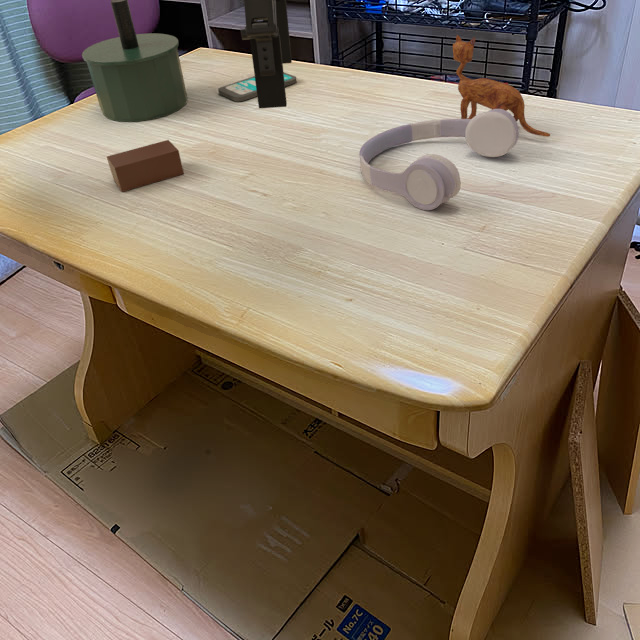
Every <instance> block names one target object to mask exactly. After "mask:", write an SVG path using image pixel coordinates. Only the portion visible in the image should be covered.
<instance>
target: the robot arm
mask: <svg viewBox="0 0 640 640" xmlns="http://www.w3.org/2000/svg"><path fill="white" fill-rule="evenodd" d="M243 4H244V5H243V6H244V18H245V26H244V28H241V29H240V37H241V38H240V39H241V40H242V41H244V40H245V41H247V40H249V44H250V51H251V59H252V66H253V73H254V76H255V82H256V90H257V96H256V97H257V104H258V109H259V110H260V109H274V108H286V107H287V105H288V103H287V94H286V93H287V92H286V86H285V82H284V73H285V71H284V64H292V63H293V62H292V59H293V58H292V50H291V38H290V30H289V19H288V7H287V0H243Z"/></svg>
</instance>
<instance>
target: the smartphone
mask: <svg viewBox="0 0 640 640" xmlns="http://www.w3.org/2000/svg"><path fill="white" fill-rule="evenodd" d="M284 82H285V87H288V86H291V85H293V84H294V85H295V83H297V82H298V80H297V76H295V75H292V74H290V73H287V72H284ZM217 92H218V95H220V96H222V97H224V98H227V99H229V100H232V101H234V102H244V101H247V100H250V99H253V98H256V97H257V90H256V82H255V75H254V76H251V77H248V78H245V79H242V80H239V81H236V82H235V81H234V82H231V83H229V84H226V85H223V86H221V87H218V88H217Z"/></svg>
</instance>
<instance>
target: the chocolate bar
mask: <svg viewBox="0 0 640 640" xmlns="http://www.w3.org/2000/svg"><path fill="white" fill-rule="evenodd" d="M106 160H107V163H108V166H109V169H110V172H111V176H112V179H113V181H114V183H115V184H116V186H117V187H118V189H119V191H121V192H122V193H123V192H126V191H130V190H134V189H137V188H141V187H144V186H147V185H150V184H154V183H157V182H161V181H165V180H168V179H171V178H175V177H178V176H182V175H184V169H183V165H182V164H183V163H182V159H181V155H180V150H179V149H178V148H177V147H176V146H175V145H174V144H173V142H172V141H170V140H169V139H166V140H163V141H158V142H156V143H155V142H154V143H152V144H147V145H143V146H141V147H137V148H132V149H130V150H125V151H122V152H118V153H114V154H110V155H107V156H106Z"/></svg>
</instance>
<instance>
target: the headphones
mask: <svg viewBox="0 0 640 640" xmlns="http://www.w3.org/2000/svg"><path fill="white" fill-rule="evenodd" d="M513 116H514V115H513V114H512V113H511V112H510V111H508V110H507V111H506V110H503V109H489V110H488V111H484V112H481V113H478V114H476V116H475V117H473V118H472V119H461V118H444V119H430V120H424V121H418V122H413V123H412V122H411V123H407V124H403V125H399V126H396V127H392V128H390V129H387V130H385V131H382V132H380V133H377V134H376V135H374V136H372V137H370V138H369V139H368V140H367V141H365V142H364V144H362V146H361V147H360V149H359V154H358V156H359V164H360V170H361V175H362V177H363V179H364V180H365V181H366V182H367V183H368V184H369V185H370V186H373V187H375V188H376V189H379V190H382V191H385V192H389V193H394V194H396V195H400V196H401V197H403V198H405V199H406V200H407V201H408V202H409V203H410V204H411V205H412V206H414V207H415V208H417V209H420V210H422V211H432V210H434V209H437V208H438V207H439V206H441V205H443V204H445V203H446V202H448V201H449V200H450V199H453V198H454V197H456V196H457V195H458V194H459V193H460V191H461V188H462V187H461V185H462V181H461V177H460V176H461V175H460V172H459V169H458V168H457V167H456V165H455V164H454V163H453V162H452V161H451V160H450V159H448V158H447V157H444V156H442V155H439V154H435V153H427V154H424V155H421V156H419V157H418V158H416V160H413V162H411V163H410V164H409V165H408V167H406V168H405V170H403V171H401V172H389V171H386V170H382V169H379V168H376V167H374V166H372V165H370V164H369V163H370V161H372V159H374V158H375V157H376V156H378V155H380V154H381V153H383V152H384V151H386V150H388V149H390V148H393V147H396V146H400V145H405V144H408V143H409V144H410V143H412V142H416V141H422V140H429V139H438V138H440V139H441V138H465V142H466V145H468V147H469V148H470V149H471V150H472V151H473V152H475V153H476V154H478V155H480V156H482V157H487V158H498V157H502V156H504V155H506V154H508V153H509V152H510V151H511V150H512V149H513V148H514V147H515V146H516V144H517V142H518V140H519V135H520V130H519V124H518V121H517V122H516V120H515V118H514V117H513Z"/></svg>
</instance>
